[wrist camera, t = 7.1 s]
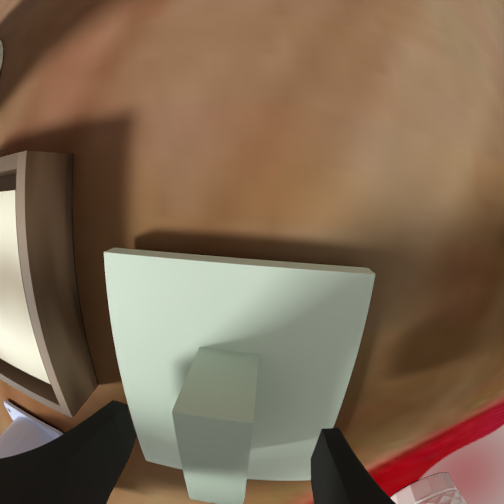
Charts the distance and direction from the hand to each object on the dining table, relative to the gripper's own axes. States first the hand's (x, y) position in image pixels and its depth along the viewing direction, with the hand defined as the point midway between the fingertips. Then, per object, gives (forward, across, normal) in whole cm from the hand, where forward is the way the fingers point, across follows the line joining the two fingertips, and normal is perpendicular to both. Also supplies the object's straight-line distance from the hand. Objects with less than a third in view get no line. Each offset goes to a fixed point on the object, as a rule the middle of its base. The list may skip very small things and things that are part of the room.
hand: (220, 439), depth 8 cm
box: (+3, +12, -4) cm, 13 cm away
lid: (+3, 0, 0) cm, 3 cm away
